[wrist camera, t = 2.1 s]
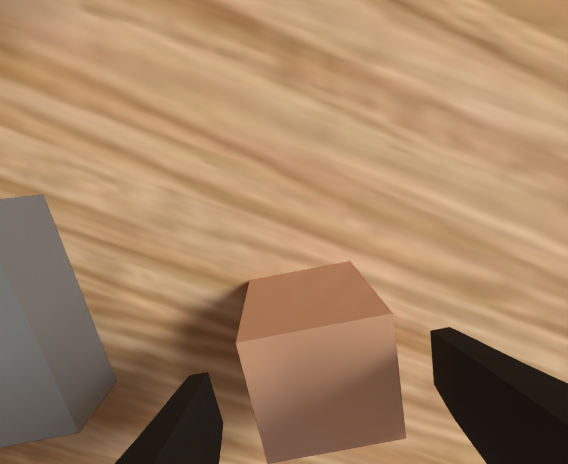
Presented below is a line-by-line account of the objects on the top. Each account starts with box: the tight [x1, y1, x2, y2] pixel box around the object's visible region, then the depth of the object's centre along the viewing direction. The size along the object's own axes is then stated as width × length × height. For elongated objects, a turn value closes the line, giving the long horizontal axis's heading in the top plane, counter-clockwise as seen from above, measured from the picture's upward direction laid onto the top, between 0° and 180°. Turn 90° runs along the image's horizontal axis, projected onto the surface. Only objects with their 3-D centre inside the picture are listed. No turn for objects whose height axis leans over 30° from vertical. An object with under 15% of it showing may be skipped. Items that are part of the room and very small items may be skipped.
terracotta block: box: [236, 261, 406, 464], centre depth 10 cm, size 4×4×4 cm
